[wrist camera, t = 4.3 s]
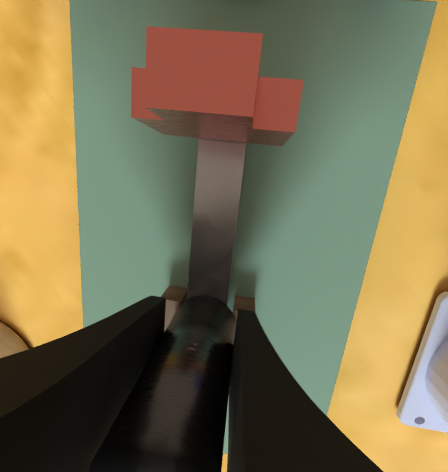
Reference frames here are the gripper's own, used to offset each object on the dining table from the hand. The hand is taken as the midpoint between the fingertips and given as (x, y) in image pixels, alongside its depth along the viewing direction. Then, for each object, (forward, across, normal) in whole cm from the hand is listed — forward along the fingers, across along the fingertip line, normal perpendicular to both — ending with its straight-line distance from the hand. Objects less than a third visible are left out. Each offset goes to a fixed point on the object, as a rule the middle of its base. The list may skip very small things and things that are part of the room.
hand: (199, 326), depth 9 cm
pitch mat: (+4, 0, -1) cm, 4 cm away
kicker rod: (+3, 0, -3) cm, 4 cm away
